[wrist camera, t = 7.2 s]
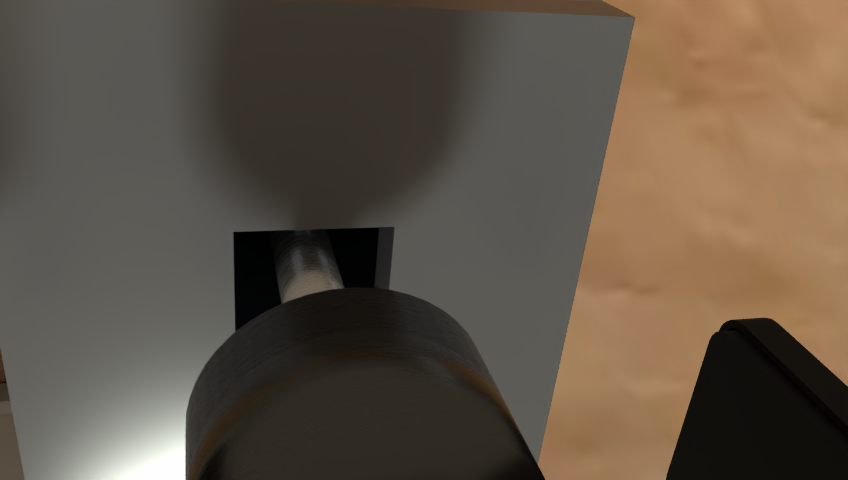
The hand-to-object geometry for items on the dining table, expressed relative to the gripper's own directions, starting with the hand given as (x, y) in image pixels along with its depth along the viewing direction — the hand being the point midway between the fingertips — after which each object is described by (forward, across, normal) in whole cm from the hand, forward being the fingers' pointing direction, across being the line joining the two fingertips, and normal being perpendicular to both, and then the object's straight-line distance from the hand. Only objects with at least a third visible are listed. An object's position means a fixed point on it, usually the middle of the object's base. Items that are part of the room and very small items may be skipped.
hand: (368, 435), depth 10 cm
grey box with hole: (+16, 0, 0) cm, 16 cm away
